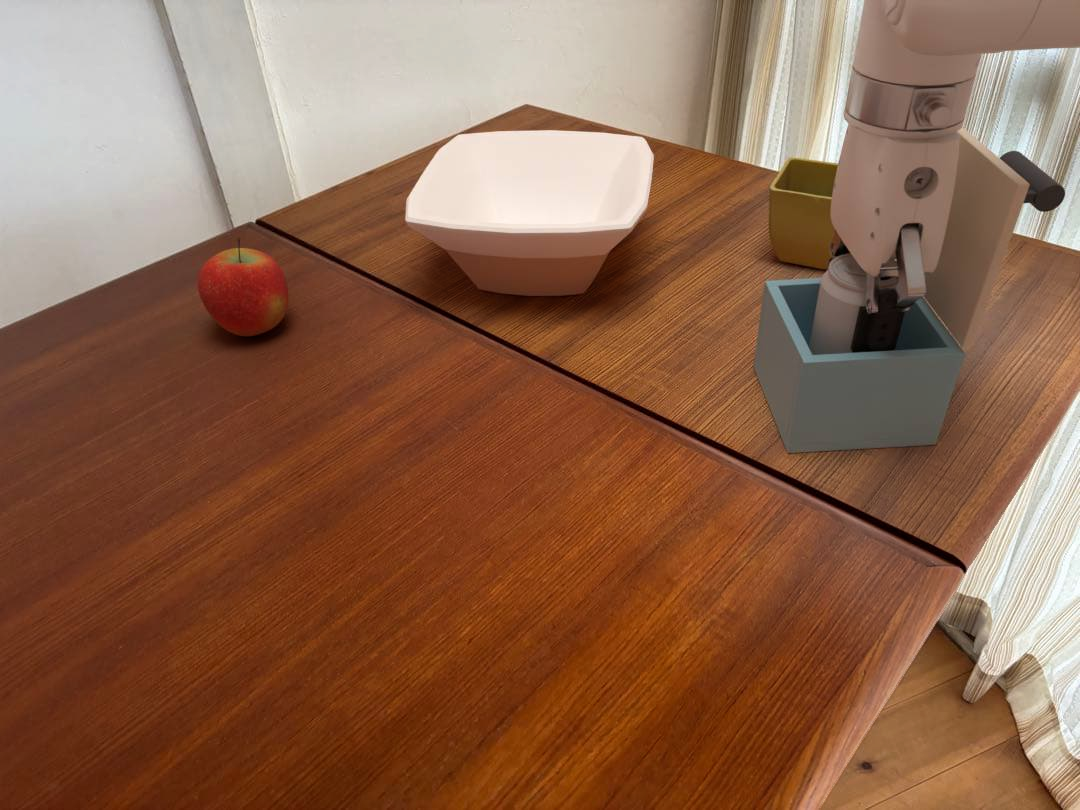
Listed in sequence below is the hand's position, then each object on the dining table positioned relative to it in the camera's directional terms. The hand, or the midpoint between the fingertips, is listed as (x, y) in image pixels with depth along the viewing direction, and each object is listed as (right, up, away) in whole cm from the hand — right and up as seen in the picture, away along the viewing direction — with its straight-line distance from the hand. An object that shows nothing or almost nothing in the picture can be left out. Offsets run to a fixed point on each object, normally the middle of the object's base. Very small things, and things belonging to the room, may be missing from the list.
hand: (856, 324), depth 67 cm
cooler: (0, -6, +5) cm, 8 cm away
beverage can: (0, -6, +4) cm, 7 cm away
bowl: (-25, +9, +26) cm, 37 cm away
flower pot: (+4, +10, +25) cm, 27 cm away
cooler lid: (+5, +6, -5) cm, 9 cm away
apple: (-54, +1, +19) cm, 57 cm away
